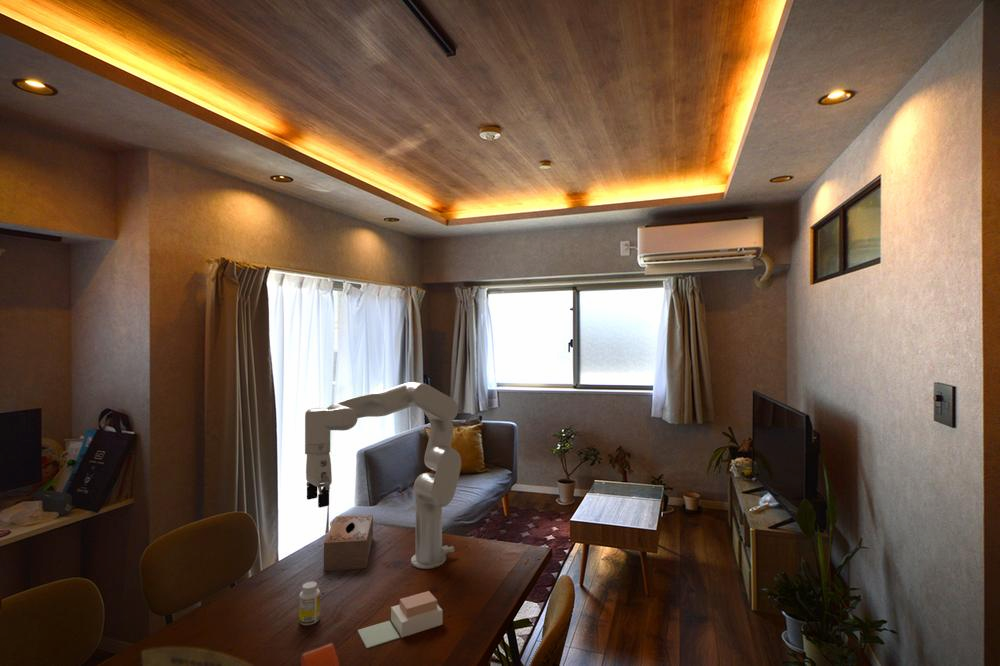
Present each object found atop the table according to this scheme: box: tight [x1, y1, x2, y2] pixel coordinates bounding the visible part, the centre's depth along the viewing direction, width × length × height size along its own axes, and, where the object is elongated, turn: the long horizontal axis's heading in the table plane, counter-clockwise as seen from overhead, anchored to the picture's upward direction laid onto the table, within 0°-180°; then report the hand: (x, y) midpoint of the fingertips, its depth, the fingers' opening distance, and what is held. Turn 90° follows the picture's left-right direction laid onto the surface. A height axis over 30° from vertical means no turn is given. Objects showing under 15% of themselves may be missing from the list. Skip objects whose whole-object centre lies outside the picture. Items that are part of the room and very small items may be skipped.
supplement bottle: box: [298, 581, 321, 626], centre depth 140 cm, size 6×6×10 cm
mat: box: [357, 620, 401, 649], centre depth 134 cm, size 9×9×1 cm
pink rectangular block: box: [399, 590, 438, 618], centre depth 140 cm, size 9×6×2 cm, turn 121°
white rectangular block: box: [390, 603, 444, 638], centre depth 140 cm, size 12×9×4 cm
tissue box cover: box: [323, 514, 374, 572], centre depth 185 cm, size 26×14×10 cm, turn 10°
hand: (317, 502), depth 154 cm, fingers open, 9 cm apart
